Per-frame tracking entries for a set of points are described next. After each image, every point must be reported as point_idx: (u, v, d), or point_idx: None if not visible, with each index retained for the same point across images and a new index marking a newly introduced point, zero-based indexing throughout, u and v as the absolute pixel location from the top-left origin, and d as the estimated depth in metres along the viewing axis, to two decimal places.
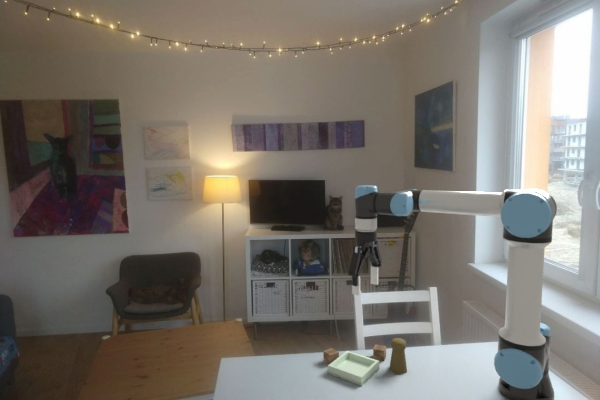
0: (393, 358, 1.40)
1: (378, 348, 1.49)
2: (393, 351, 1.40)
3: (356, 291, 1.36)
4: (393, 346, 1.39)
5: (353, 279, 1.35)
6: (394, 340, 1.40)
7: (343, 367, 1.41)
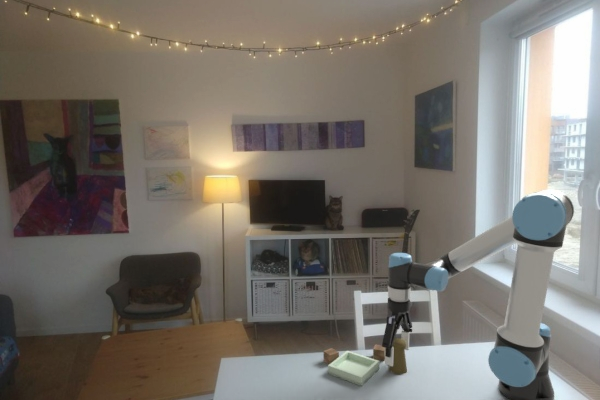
0: (393, 358, 1.40)
1: (378, 348, 1.49)
2: None
3: (389, 361, 1.35)
4: (393, 346, 1.39)
5: (386, 350, 1.34)
6: (394, 340, 1.40)
7: (343, 367, 1.41)
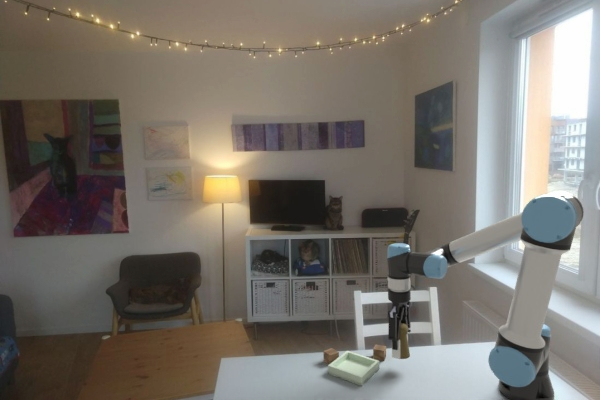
0: None
1: (378, 348, 1.49)
2: None
3: (396, 354, 1.37)
4: None
5: (393, 343, 1.36)
6: None
7: (343, 367, 1.41)
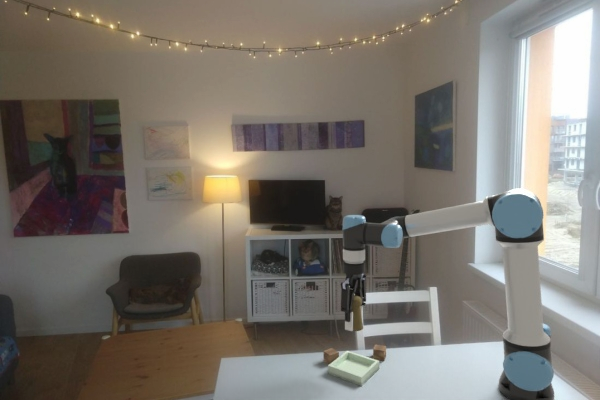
0: None
1: (378, 348, 1.49)
2: None
3: (349, 326, 1.36)
4: None
5: (346, 315, 1.35)
6: None
7: (343, 367, 1.41)
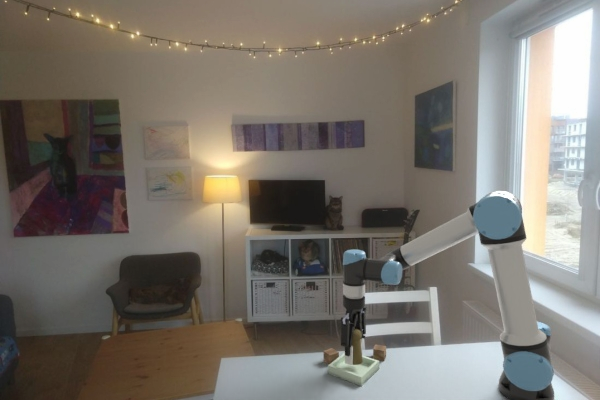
0: None
1: (378, 348, 1.49)
2: None
3: (348, 360, 1.37)
4: None
5: (346, 349, 1.36)
6: None
7: (343, 367, 1.41)
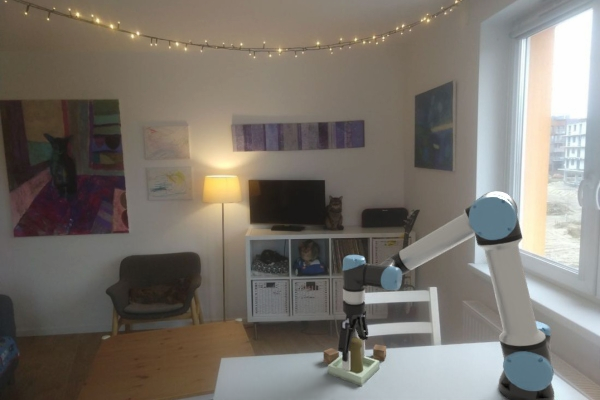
0: None
1: (378, 348, 1.49)
2: (349, 350, 1.39)
3: (346, 366, 1.36)
4: None
5: (343, 354, 1.35)
6: None
7: None
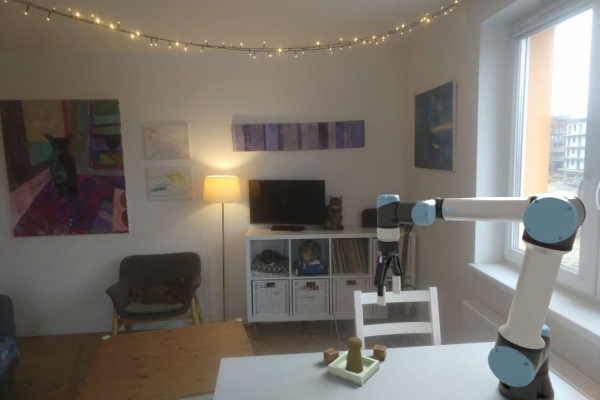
0: (349, 357, 1.39)
1: (378, 348, 1.49)
2: (349, 350, 1.39)
3: (381, 301, 1.36)
4: (349, 345, 1.38)
5: (378, 289, 1.34)
6: (350, 339, 1.39)
7: (343, 367, 1.41)
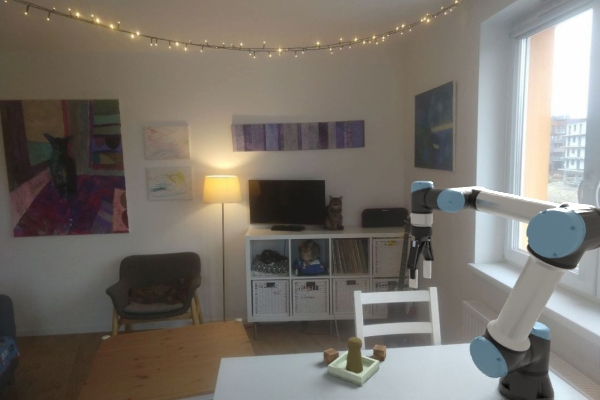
0: (349, 357, 1.39)
1: (378, 348, 1.49)
2: (349, 350, 1.39)
3: (413, 284, 1.40)
4: (349, 345, 1.38)
5: (411, 272, 1.39)
6: (350, 339, 1.39)
7: (343, 367, 1.41)
